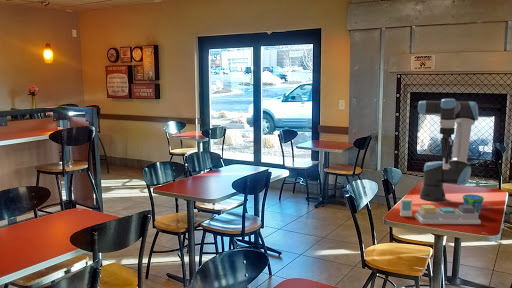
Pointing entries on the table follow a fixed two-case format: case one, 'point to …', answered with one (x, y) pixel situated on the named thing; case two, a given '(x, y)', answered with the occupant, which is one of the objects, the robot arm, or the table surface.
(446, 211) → the teal button
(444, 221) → the board
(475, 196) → the snack cup
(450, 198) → the table surface
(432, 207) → the mustard button
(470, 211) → the charcoal button
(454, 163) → the robot arm
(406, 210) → the sign
